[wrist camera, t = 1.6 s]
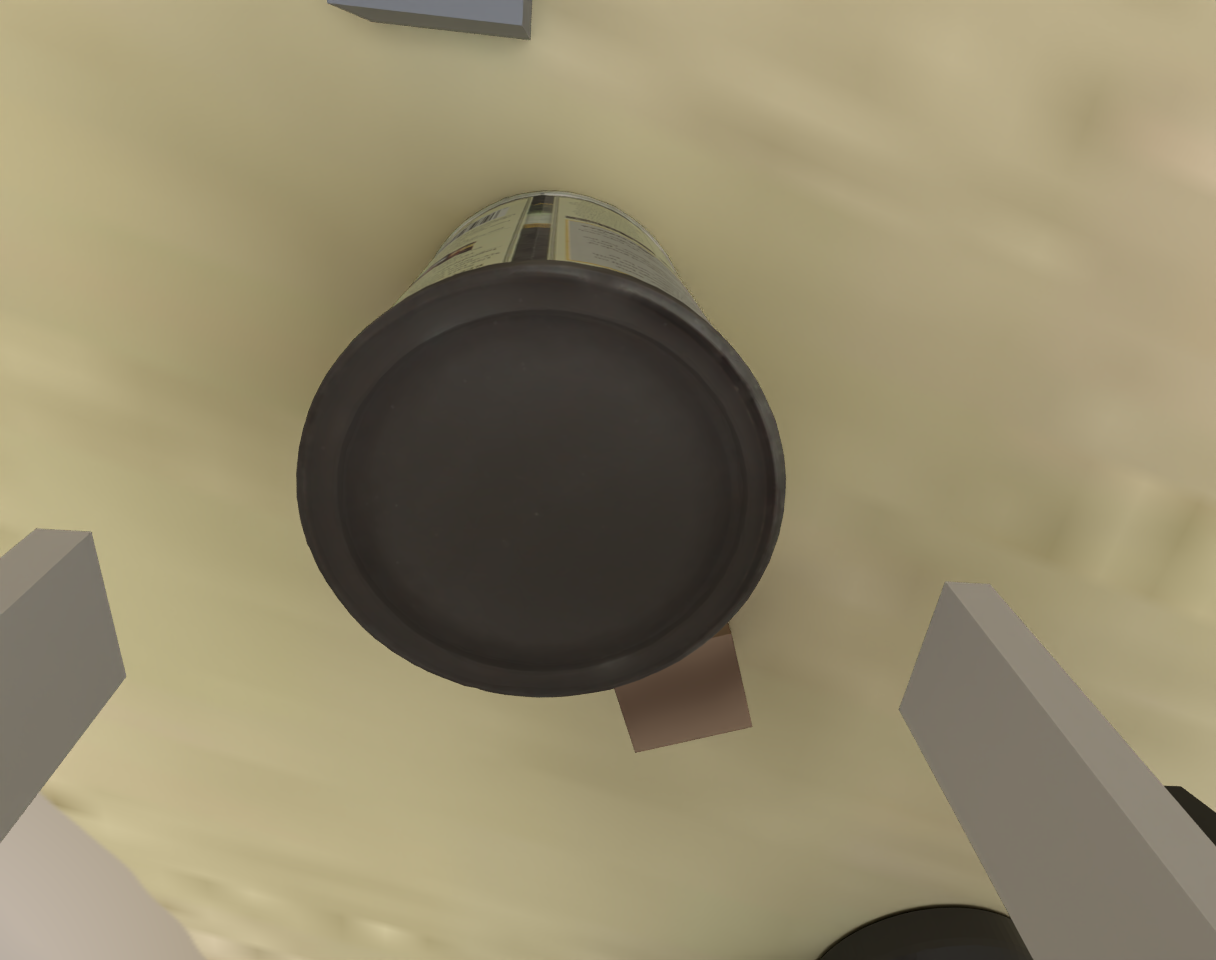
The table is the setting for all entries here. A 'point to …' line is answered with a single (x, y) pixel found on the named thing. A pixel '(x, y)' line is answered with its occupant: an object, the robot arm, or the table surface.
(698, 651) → the walnut block
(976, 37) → the table surface
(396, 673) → the table surface
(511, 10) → the blue-gray block
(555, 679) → the coffee can
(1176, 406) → the table surface
